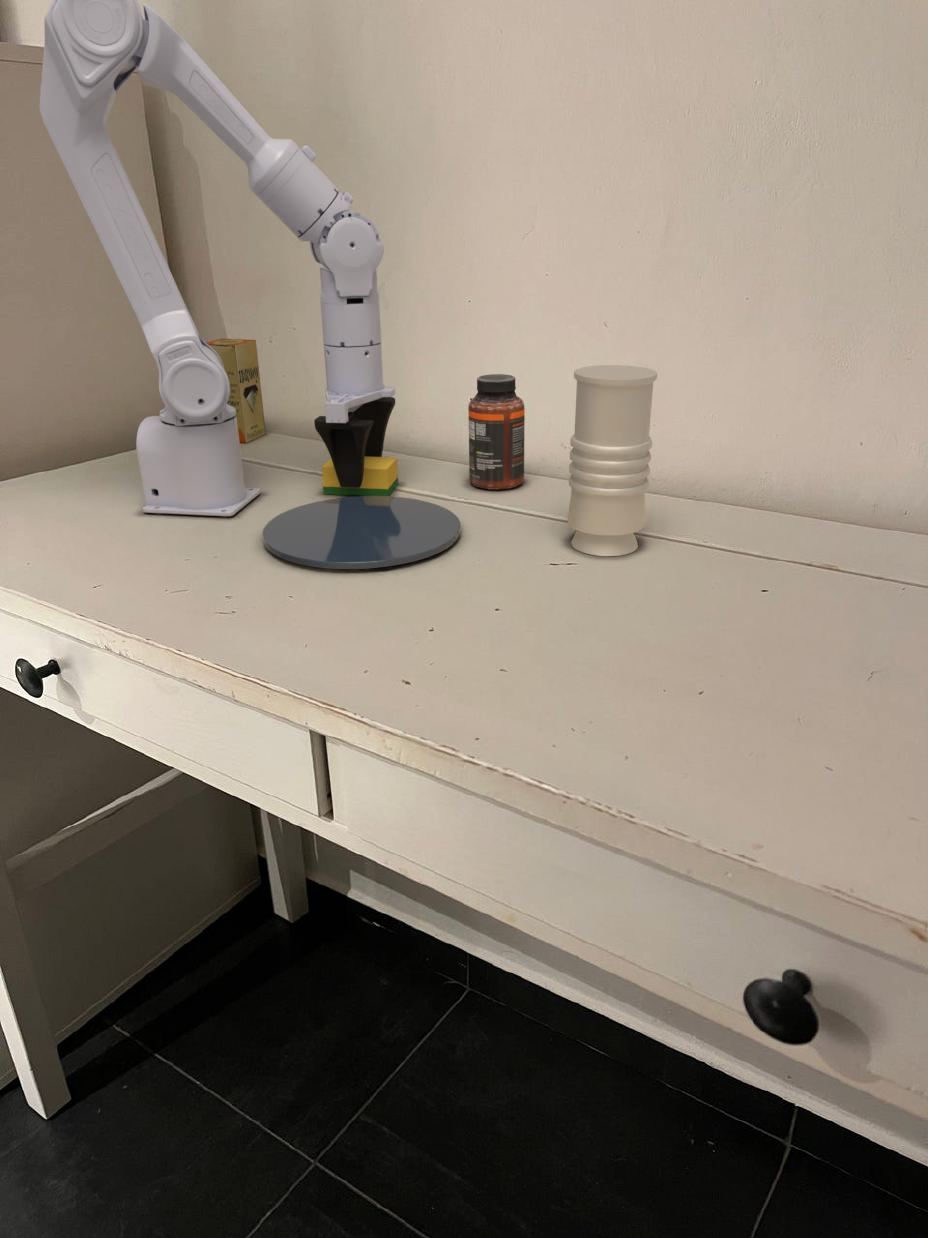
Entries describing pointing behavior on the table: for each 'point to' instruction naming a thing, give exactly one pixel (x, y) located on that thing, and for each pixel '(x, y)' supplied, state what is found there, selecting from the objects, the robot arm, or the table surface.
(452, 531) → the plate
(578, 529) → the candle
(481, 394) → the supplement bottle
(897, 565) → the table surface
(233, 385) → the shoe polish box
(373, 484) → the sponge
